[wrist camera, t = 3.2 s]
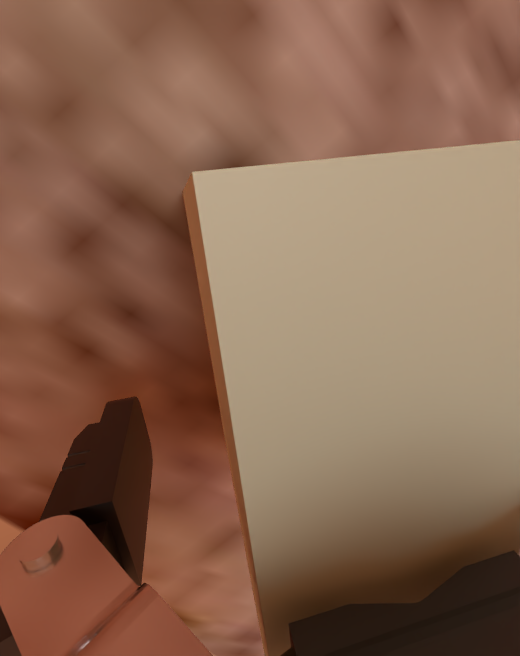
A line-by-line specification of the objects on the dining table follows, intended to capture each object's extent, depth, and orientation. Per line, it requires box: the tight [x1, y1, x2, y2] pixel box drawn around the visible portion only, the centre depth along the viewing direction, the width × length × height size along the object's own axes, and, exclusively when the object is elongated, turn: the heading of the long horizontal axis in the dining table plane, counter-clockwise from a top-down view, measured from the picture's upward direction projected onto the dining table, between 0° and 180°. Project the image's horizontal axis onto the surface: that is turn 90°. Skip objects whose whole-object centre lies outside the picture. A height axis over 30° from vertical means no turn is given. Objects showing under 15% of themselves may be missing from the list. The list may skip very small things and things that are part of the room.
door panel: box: [183, 140, 520, 656], centre depth 11 cm, size 4×12×12 cm, turn 5°
